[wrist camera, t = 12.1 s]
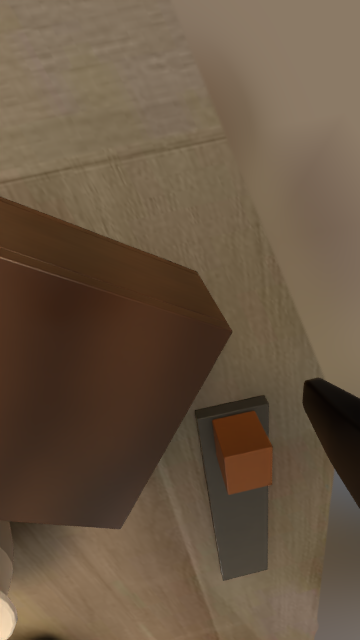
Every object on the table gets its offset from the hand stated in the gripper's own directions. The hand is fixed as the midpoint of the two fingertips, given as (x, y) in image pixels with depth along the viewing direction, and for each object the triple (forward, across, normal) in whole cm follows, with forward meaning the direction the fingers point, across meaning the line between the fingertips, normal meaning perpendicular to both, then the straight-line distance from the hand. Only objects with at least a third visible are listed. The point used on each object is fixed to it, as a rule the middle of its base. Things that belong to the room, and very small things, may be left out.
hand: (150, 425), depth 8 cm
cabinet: (+12, +6, +3) cm, 14 cm away
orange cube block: (+11, -5, +15) cm, 19 cm away
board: (+12, -5, +27) cm, 30 cm away
